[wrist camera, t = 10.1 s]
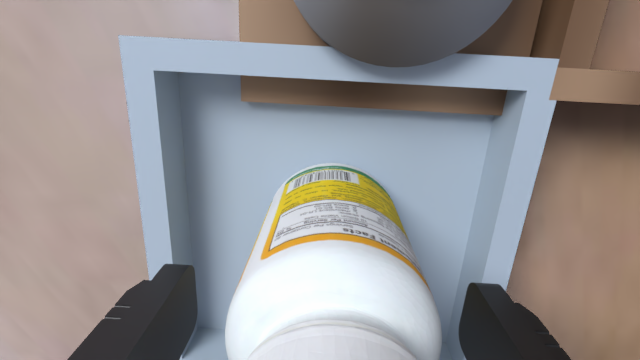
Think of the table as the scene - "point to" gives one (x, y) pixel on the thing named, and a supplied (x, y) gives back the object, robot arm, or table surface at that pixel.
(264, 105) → the tray
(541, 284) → the table surface
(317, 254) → the supplement bottle
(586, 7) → the block
